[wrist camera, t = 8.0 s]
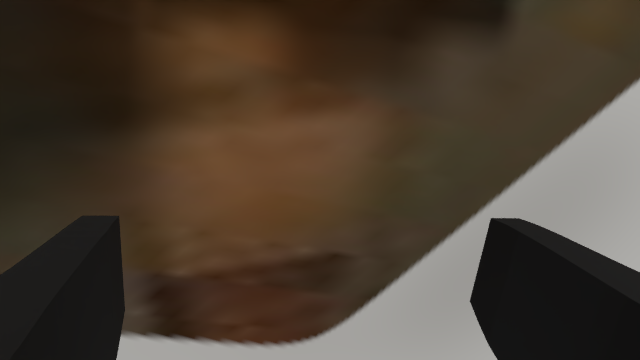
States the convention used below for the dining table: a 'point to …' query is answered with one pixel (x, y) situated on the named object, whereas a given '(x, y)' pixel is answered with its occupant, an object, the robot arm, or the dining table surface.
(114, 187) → the dining table surface
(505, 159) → the dining table surface
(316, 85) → the dining table surface
